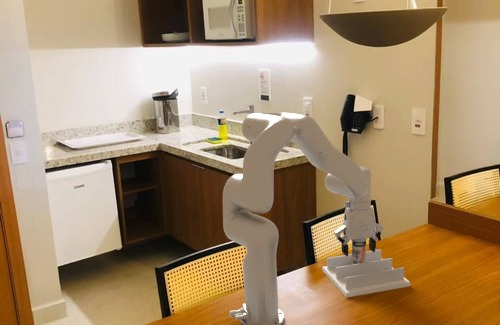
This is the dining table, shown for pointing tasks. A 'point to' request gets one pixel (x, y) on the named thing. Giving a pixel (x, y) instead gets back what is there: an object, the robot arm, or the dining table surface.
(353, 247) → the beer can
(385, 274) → the drying rack
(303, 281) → the dining table surface
